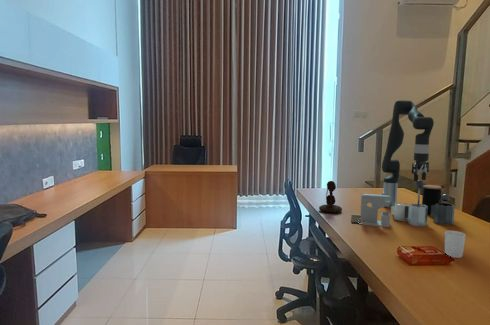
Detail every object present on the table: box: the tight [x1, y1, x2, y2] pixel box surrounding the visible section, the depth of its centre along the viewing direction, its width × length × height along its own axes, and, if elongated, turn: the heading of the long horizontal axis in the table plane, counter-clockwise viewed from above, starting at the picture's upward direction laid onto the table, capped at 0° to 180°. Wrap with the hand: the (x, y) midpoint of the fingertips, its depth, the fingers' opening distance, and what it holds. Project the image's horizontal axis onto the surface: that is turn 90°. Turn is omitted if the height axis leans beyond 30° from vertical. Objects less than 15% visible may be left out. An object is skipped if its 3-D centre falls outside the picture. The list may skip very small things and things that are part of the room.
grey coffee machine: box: [357, 193, 392, 228], centre depth 205 cm, size 17×10×18 cm, turn 70°
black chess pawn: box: [318, 180, 343, 215], centre depth 233 cm, size 15×15×20 cm
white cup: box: [444, 230, 467, 259], centre depth 156 cm, size 8×8×10 cm
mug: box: [390, 202, 409, 222], centre depth 216 cm, size 10×8×9 cm
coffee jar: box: [421, 184, 443, 216], centre depth 229 cm, size 11×11×18 cm
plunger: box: [414, 179, 425, 207], centre depth 203 cm, size 6×6×16 cm
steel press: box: [404, 203, 428, 227], centre depth 206 cm, size 12×9×11 cm
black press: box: [430, 193, 456, 226], centre depth 208 cm, size 12×9×17 cm
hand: (419, 180), depth 203 cm, fingers open, 8 cm apart
